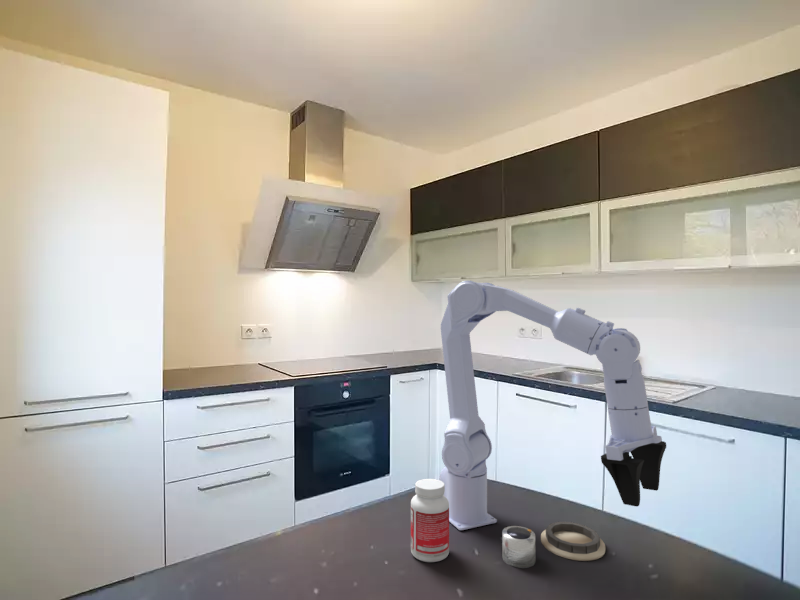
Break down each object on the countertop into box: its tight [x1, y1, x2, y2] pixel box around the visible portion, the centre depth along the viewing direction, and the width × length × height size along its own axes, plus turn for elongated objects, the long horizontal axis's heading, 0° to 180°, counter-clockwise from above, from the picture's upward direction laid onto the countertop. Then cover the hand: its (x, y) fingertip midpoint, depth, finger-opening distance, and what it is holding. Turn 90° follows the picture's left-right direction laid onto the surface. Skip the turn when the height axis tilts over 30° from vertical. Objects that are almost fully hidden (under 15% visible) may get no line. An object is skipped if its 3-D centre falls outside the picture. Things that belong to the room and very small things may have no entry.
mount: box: [540, 521, 606, 562], centre depth 76 cm, size 10×10×2 cm
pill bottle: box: [410, 478, 450, 563], centre depth 74 cm, size 6×6×11 cm
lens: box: [501, 525, 536, 569], centre depth 72 cm, size 5×5×4 cm
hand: (641, 496), depth 70 cm, fingers open, 7 cm apart
